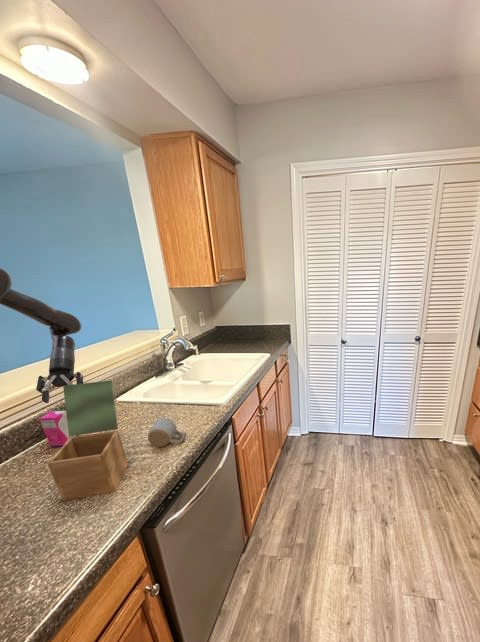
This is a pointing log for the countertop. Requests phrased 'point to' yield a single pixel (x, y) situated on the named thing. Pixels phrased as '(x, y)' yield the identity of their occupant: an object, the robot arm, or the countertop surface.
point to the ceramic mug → (163, 433)
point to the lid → (90, 407)
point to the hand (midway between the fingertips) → (59, 400)
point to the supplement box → (56, 428)
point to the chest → (89, 465)
